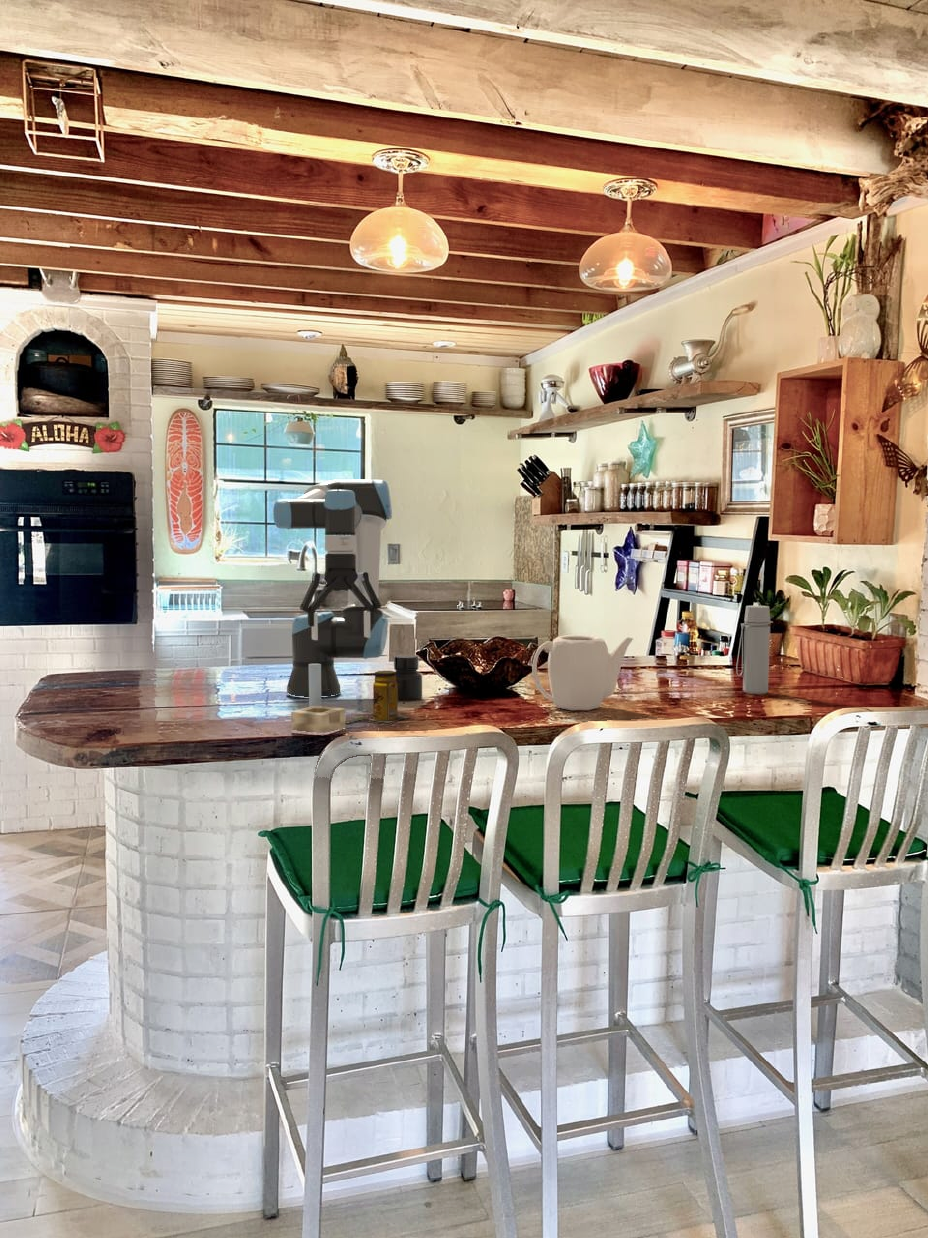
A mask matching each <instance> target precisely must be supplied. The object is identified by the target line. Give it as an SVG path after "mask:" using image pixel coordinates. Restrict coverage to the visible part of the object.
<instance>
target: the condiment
mask: <svg viewBox="0 0 928 1238" xmlns="http://www.w3.org/2000/svg"><path fill="white" fill-rule="evenodd" d="M372 688H373V693H372V695H373V696H372V697H373V705H372V706H373V709H372V710H373V717H372V718H373V719H371V718H368V720H370V721H373V722H379V723H386V724H387V723H393V722H397V721H401V720H404V719H405V720H406V719H409V716H402V715H399V705H398V704H399V703H398V702H399V701H398V684H397V682H396V673H395V671H393V670H378V671H375V672H374V682H373V686H372Z"/></svg>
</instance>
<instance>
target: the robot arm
mask: <svg viewBox="0 0 928 1238" xmlns="http://www.w3.org/2000/svg"><path fill="white" fill-rule="evenodd" d="M391 502H392V501H391V496H390V489H389V485H388V483H387V481H385V480H384V479H374V478H371V479H330V480H326V481H322V482H319V483H317V484H314V485H312V486H310V487H308V488H307V489H306V490H305V492H304V493H303V494H302V495H301V496H298V497H295V498H294V499H289V498H285V499H278V500H277V499H276V500H275V501H274V504H273V510H272V511H273V513H272V514H273V522H274V525H275V527H276V528H277V529H281V530H282V529H284V530H285V529H286V530H296V529H297V530H301V529H302V530H304V529H305V530H308V529H309V530H310V529H311V530H314V529H315V530H316V529H317V530H318V529H319V530H321V529H322V530H324V551H325V552H327V553H325V555H324V557H325V558H324V563H325V564H324V566H325V567H324V568H325V569H324V570H325V572H324V573H319V572H313V573H312V576H311V577H312V578H311V583H310V585H309V587H308V589H307V591H306V593H305V595H304V598H303V600H302V602H301V604H300V607H299V609H300V611H303V612H306V614H301V615H297V616H296V617H294V618H293V620H292V623H291V624H292V627H291V633H290V634H291V644H292V645H291V647H292V648H291V650H292V669H291V673H290V676H289V679H288V682H287V683H288V684H287V685H286V694H287V693H289V694H291V695H295V696H304V697H309V664H321V696H331V695H336V694H339V693H340V694H341V684H340V682H339V678H338V675H337V671H336V670H335V659H364V660H367V659H374V658H375V659H377V658H379V657H381V656H382V654H383V653H384V650H385V648H386V644H387V639H388V628H389V623H388V618H387V617H386V616H384V615H383V613H384V612H383V610H382V609H381V608H382V605H381V603H380V601H379V587H380V585H379V582H380V561H381V557H380V555H381V532H382V530H383V529H384V528H385V527H386V526H387V521H389V520H391V519H392V517H393V513H392V503H391ZM323 579H324V581H325V582H326V584H325V585H324V586H323V588H322V590H321V592H319V594H318V595H317V596H316V598H315V599H314V600H313V597H314V595H315V594H316V591H317V589H318V587H319V584H320V583H321V582H322V581H323ZM332 591H335V592H338V591H339V592H340V591H347V592H348V594H347V596H348V597H347V605H346V606H345V607H344V608H343V609H342V610H341V616H335V614H334V612H333V611H321V612H316V611H317V610H318V608H319V607H320V606H321V604H322V603H323V601H325V599H326V598H327V597H328V595H329V594H330V593H332ZM340 694H339V695H340Z"/></svg>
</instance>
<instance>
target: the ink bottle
mask: <svg viewBox="0 0 928 1238" xmlns="http://www.w3.org/2000/svg"><path fill="white" fill-rule="evenodd" d="M393 667H394V668H393V669H394V670H395V671H394V672H395V673H396V682H397V684H398V702H415V701H418V700H419V701H420V700H421V699H422V698H423V676H422V674H421V673H420V672H419V671H418V670H419V655H416V654H397V655H394V656H393Z"/></svg>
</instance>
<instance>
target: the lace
mask: <svg viewBox="0 0 928 1238" xmlns="http://www.w3.org/2000/svg"><path fill="white" fill-rule="evenodd" d="M363 719H365V720H367V716H366V715H359V716H357V717H356V716H355V717H351V718H347V719H345V723H347V722H353V721H357V720H361V721H364V720H363ZM357 722H358V721H357ZM353 723H354V722H353Z"/></svg>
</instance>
